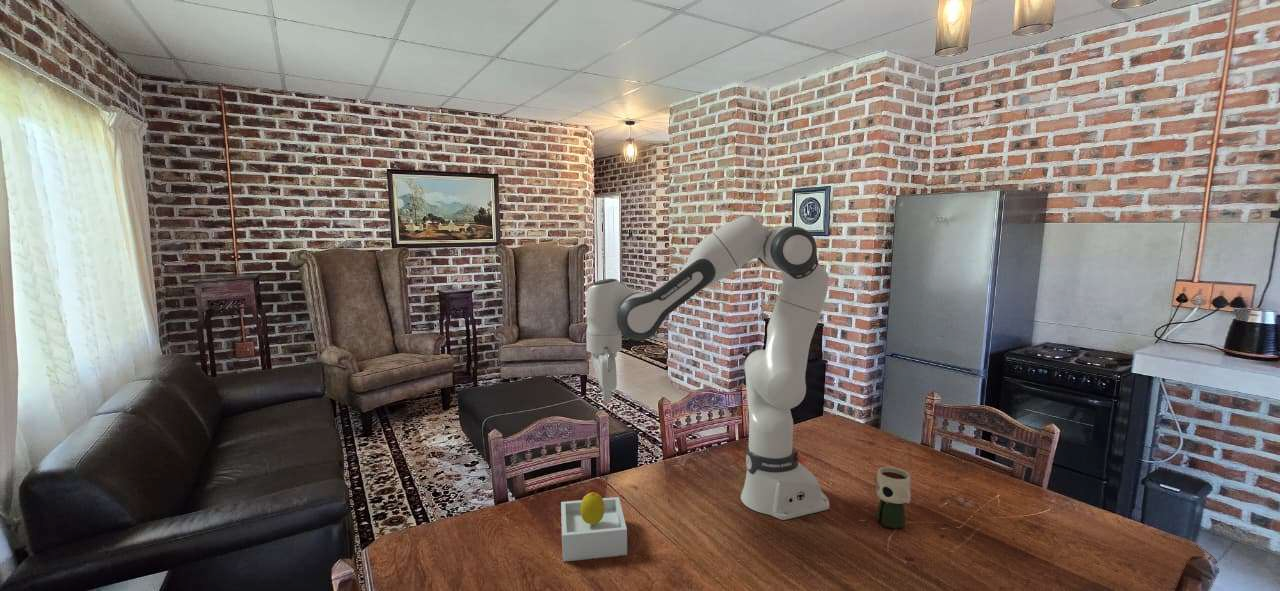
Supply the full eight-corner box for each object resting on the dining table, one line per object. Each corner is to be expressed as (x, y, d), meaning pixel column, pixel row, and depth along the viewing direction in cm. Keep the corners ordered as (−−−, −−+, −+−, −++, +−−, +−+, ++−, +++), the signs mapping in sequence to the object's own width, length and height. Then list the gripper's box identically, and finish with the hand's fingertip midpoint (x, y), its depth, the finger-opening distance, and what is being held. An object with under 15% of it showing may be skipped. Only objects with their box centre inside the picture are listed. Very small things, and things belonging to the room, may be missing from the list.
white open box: (618, 521, 129) (618, 496, 128) (627, 556, 115) (626, 529, 114) (561, 527, 126) (560, 501, 125) (562, 563, 113) (562, 535, 112)
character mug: (863, 513, 132) (866, 464, 130) (887, 509, 133) (890, 461, 131) (893, 538, 121) (897, 485, 119) (919, 534, 123) (923, 481, 121)
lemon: (601, 533, 117) (600, 500, 116) (577, 530, 118) (576, 497, 117) (607, 519, 122) (607, 487, 121) (584, 516, 123) (584, 485, 122)
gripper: (622, 352, 122) (623, 409, 124) (611, 334, 142) (612, 384, 144) (595, 354, 121) (596, 411, 123) (588, 335, 141) (589, 385, 142)
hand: (604, 396), depth 133 cm, fingers open, 8 cm apart
